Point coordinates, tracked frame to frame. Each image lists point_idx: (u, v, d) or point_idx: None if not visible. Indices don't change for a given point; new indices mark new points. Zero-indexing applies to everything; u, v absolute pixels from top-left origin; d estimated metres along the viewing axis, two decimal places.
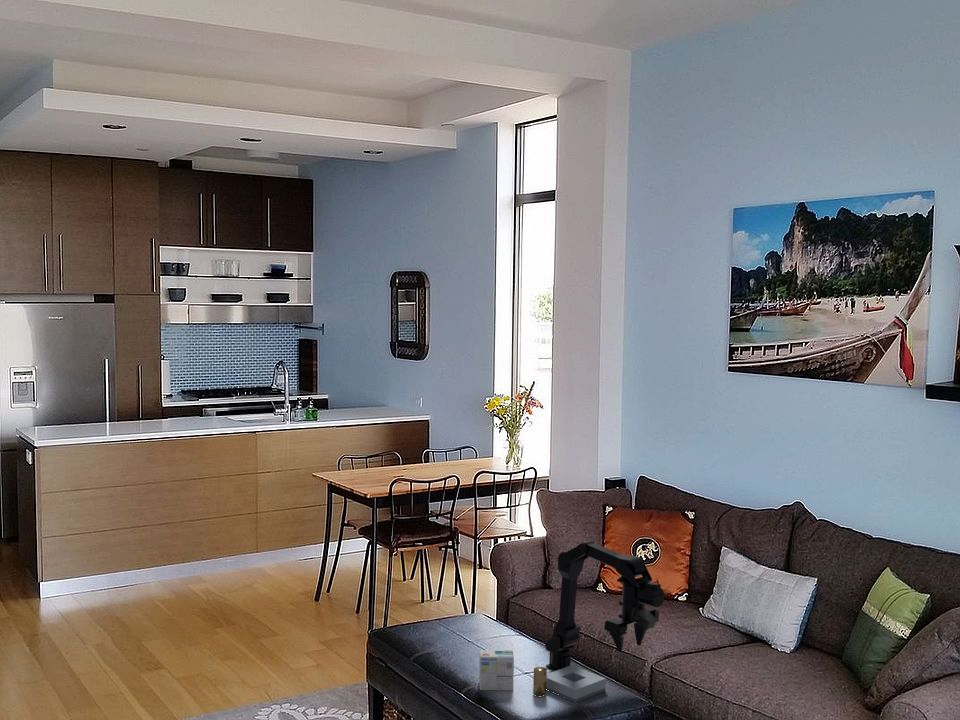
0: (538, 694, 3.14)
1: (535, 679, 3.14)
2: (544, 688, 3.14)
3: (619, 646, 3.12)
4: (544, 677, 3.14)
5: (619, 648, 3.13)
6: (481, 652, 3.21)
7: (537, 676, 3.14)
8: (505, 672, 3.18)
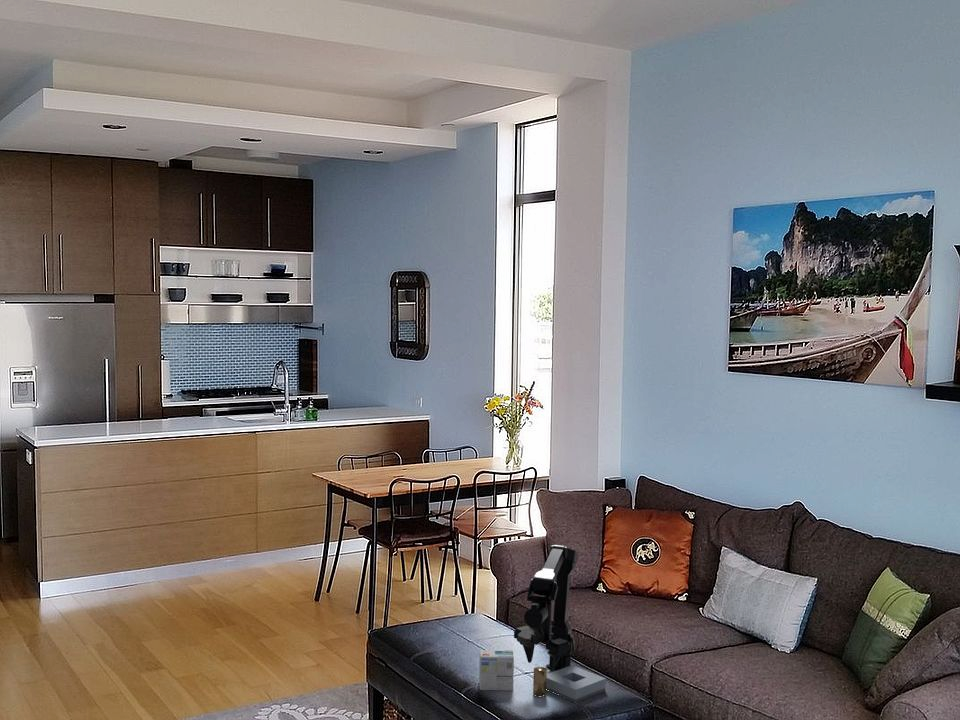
0: (538, 694, 3.14)
1: (535, 679, 3.14)
2: (544, 688, 3.14)
3: None
4: (544, 677, 3.14)
5: None
6: (481, 652, 3.21)
7: (537, 676, 3.14)
8: (505, 672, 3.18)
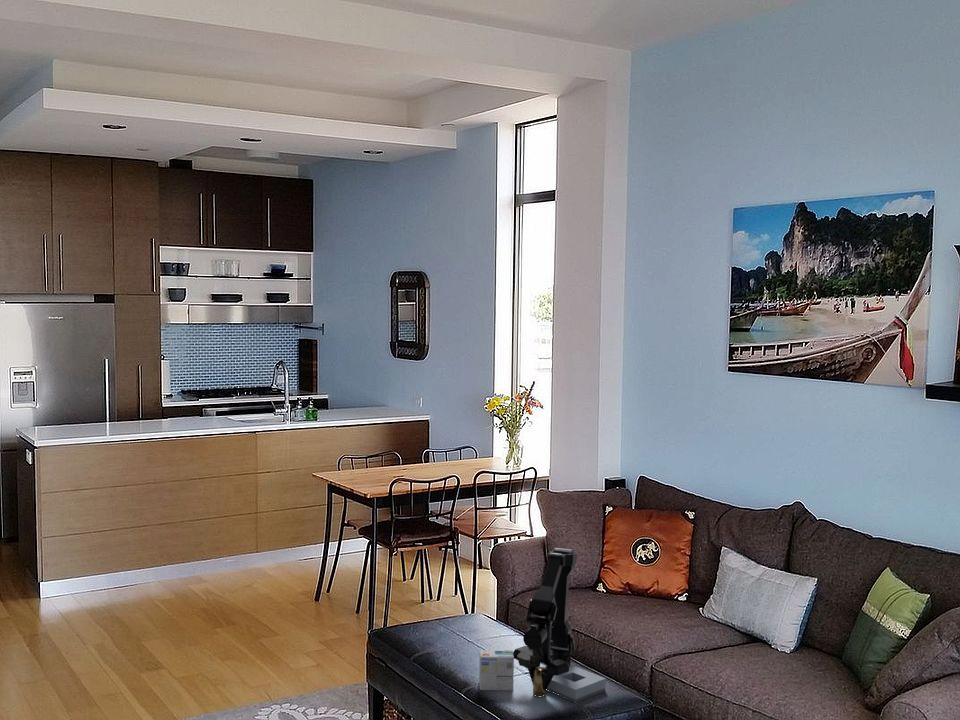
0: (538, 694, 3.14)
1: (535, 679, 3.14)
2: None
3: None
4: None
5: None
6: (481, 652, 3.21)
7: (537, 676, 3.14)
8: (505, 672, 3.18)
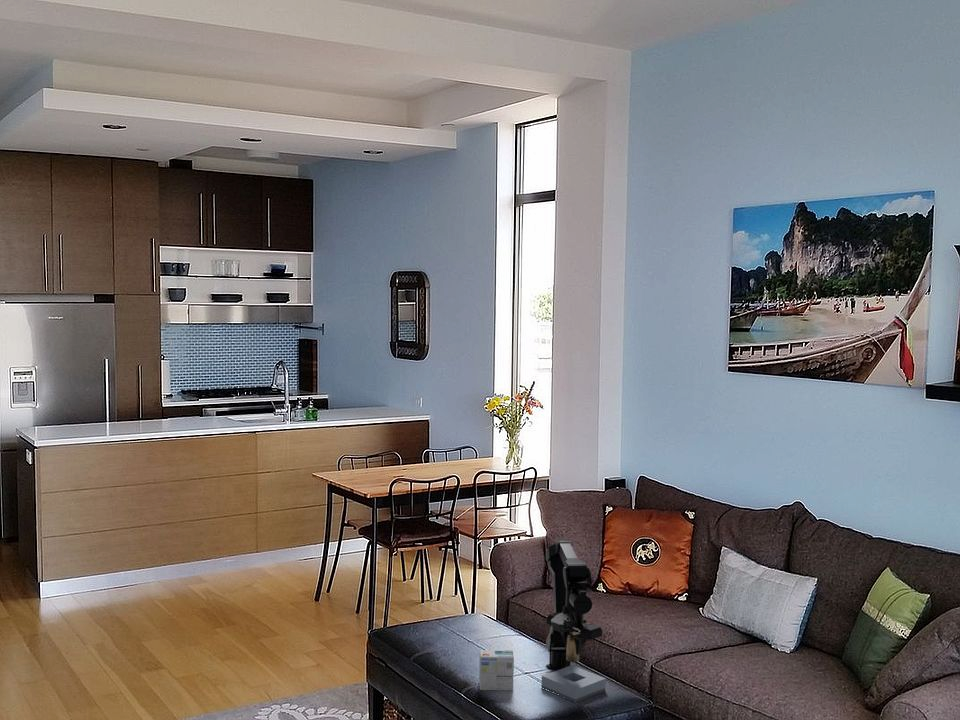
0: (571, 659, 3.18)
1: (568, 644, 3.18)
2: None
3: None
4: None
5: None
6: (481, 652, 3.21)
7: (571, 640, 3.17)
8: (505, 672, 3.18)
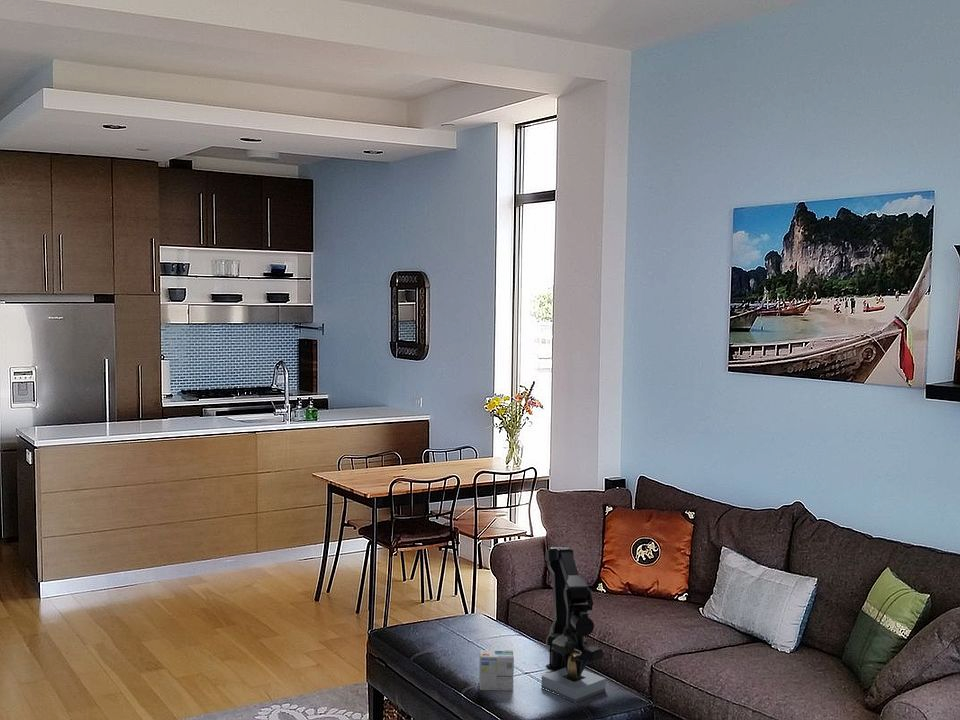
0: (572, 680, 3.18)
1: (569, 665, 3.19)
2: None
3: None
4: None
5: None
6: (481, 652, 3.21)
7: (572, 662, 3.18)
8: (505, 672, 3.18)
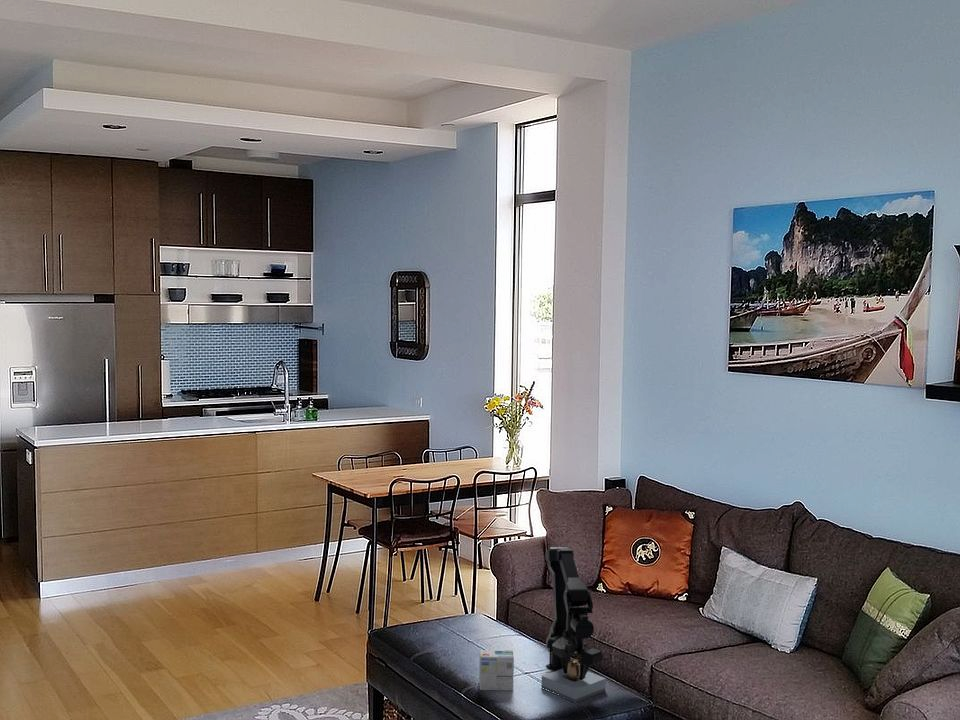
0: None
1: (569, 671, 3.19)
2: (578, 680, 3.19)
3: None
4: (578, 669, 3.18)
5: None
6: (481, 652, 3.21)
7: (571, 668, 3.18)
8: (505, 672, 3.18)
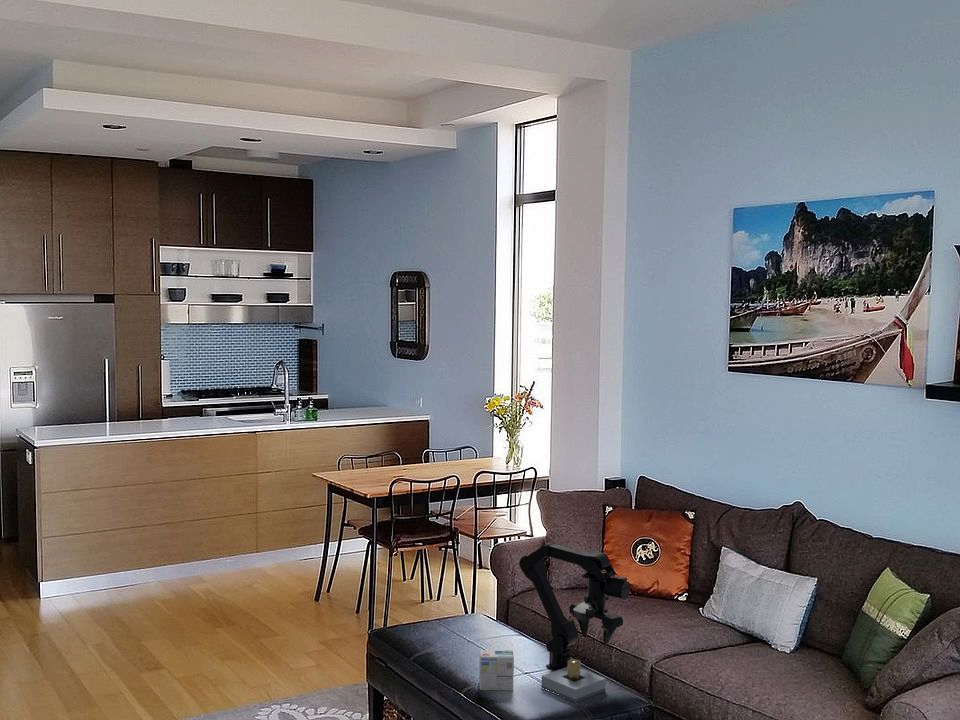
0: None
1: (569, 671, 3.19)
2: (578, 680, 3.19)
3: None
4: (578, 669, 3.18)
5: None
6: (481, 652, 3.21)
7: (571, 667, 3.18)
8: (505, 672, 3.18)
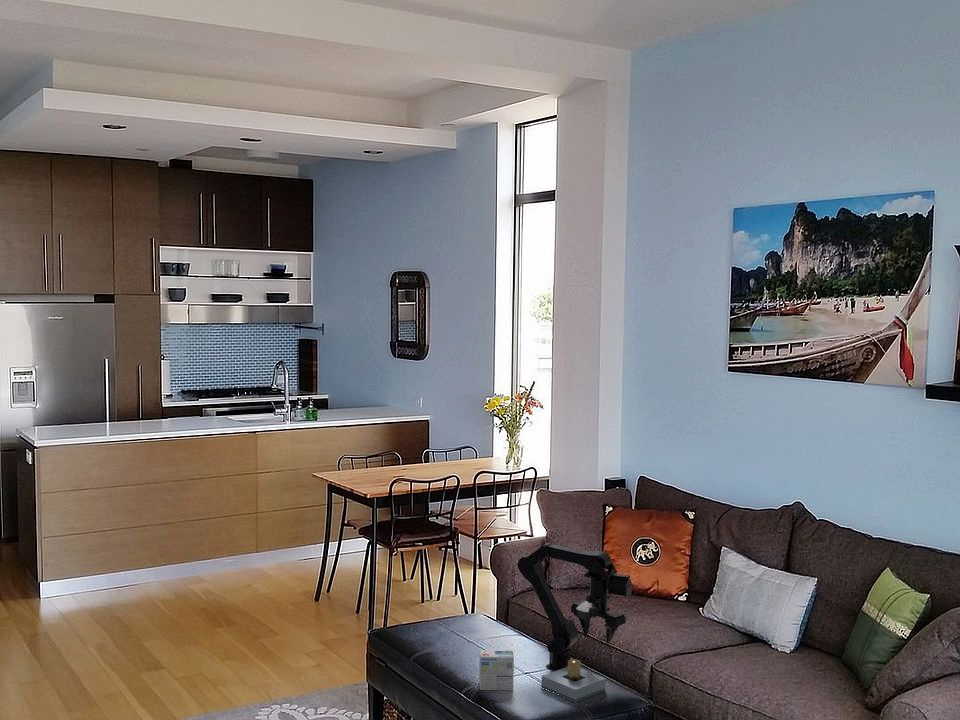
0: None
1: (569, 671, 3.19)
2: (578, 680, 3.19)
3: None
4: (578, 669, 3.18)
5: None
6: (481, 652, 3.21)
7: (572, 668, 3.18)
8: (505, 672, 3.18)
